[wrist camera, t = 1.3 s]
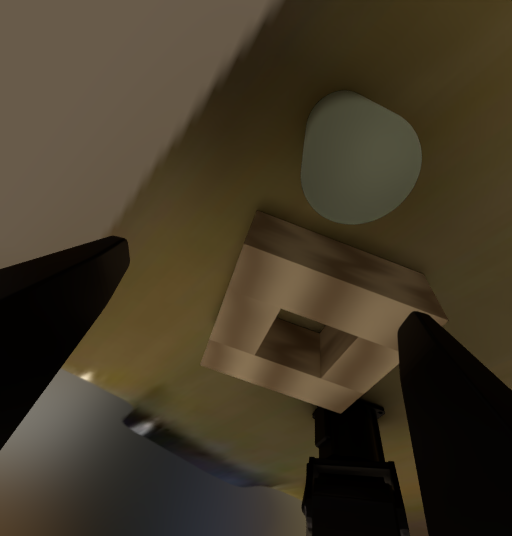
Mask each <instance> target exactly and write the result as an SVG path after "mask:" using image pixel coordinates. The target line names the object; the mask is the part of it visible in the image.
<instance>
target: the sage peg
mask: <svg viewBox="0 0 512 536" xmlns="http://www.w3.org/2000/svg"><path fill="white" fill-rule="evenodd" d="M421 163H422V152H421V145H420V141H419V139H418V136H417V134H416V132H415V131H414V129H413V128H412V126H411V125H410V124H409V123H408V122H407V121H406V120H405V119H404V118H402V117H401V116H400V115H398V114H396V113H394V112H392V111H390V110H388V109H386V108H384V107H383V106H381V105H379V104H377V103H375V102H373V101H371V100H369V99H367V98H365V97H364V96H362V95H360V94H358V93H356V92H353V91H348V90H341V91H336V92H333V93H331V94H328V95H327V96H325V97H324V98H322V99H321V100H320V101H319V102H318V103H317V104H316V105H315V106H314V108H313V109H312V111H311V113H310V115H309V117H308V120H307V124H306V131H305V140H304V149H303V157H302V166H301V184H302V189H303V192H304V195H305V197H306V199H307V201H308V202H309V204H310V205H311V207H312V208H313V209H314V210H315V211H316V212H317V213H319V214H320V215H321V216H323V217H324V218H326V219H328V220H331V221H333V222H337V223H341V224H362V223H367V222H371V221H374V220H376V219H379V218H381V217H383V216H385V215H387V214H388V213H390V212H391V211H393V210H394V209H395V208H396V207H398V206H399V205H400V204H401V203H402V202H403V201H404V200H405V199H406V197H407V196H408V195H409V194H410V192H411V190H412V189H413V187H414V185H415V183H416V181H417V179H418V176H419V173H420V169H421Z"/></svg>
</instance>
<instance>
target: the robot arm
mask: <svg viewBox="0 0 512 536" xmlns="http://www.w3.org/2000/svg"><path fill="white" fill-rule="evenodd" d="M129 263H130V257H129V248H128V242H127V240H126V239H125V238H121V237H117V236H109V237H106V238H103V239H99V240H96V241H93V242H90V243H86V244H83V245H80V246H76V247H73V248H70V249H66V250H63V251H59V252H56V253H53V254H49V255H46V256H43V257H39V258H36V259H33V260H29V261H26V262H23V263H19V264H16V265H13V266H9V267H6V268H3V269H0V450H1V449H2V447H3V446H4V445H5V443H6V442H7V440H8V439H9V438H10V436H11V435H12V434H13V432H14V431H15V430H16V428H17V427H18V425H19V424H20V423H21V421H22V420H23V419H24V417H25V416H26V415H27V413H28V412H29V410H30V409H31V408H32V406H33V405H34V404H35V402H36V401H37V400H38V398H39V397H40V395H41V394H42V393H43V391H44V390H45V389H46V387H47V386H48V385H49V383H50V382H51V380H52V379H53V378H54V376H55V375H56V374H57V372H58V371H59V369H60V368H61V367H62V365H63V364H64V363H65V361H66V360H67V359H68V357H69V356H70V355H71V353H72V352H73V350H74V349H75V348H76V346H77V345H78V344H79V342H80V341H81V340H82V338H83V337H84V335H85V334H86V333H87V331H88V330H89V329H90V327H91V326H92V325H93V323H94V322H95V320H96V319H97V318H98V316H99V315H100V314H101V312H102V311H103V309H104V308H105V307H106V305H107V303H108V302H109V300H110V298H111V297H112V295H113V293H114V291H115V290H116V288H117V286H118V284H119V283H120V281H121V279H122V277H123V276H124V274H125V272H126V270H127V269H128V267H129ZM397 339H398V354H399V369H400V380H401V387H402V392H403V398H404V403H405V409H406V414H407V420H408V425H409V431H410V436H411V442H412V447H413V453H414V458H415V464H416V469H417V475H418V480H419V486H420V491H421V497H422V502H423V507H424V513H425V518H426V524H427V529H428V535H429V536H512V390H511V389H509V388H508V387H507V386H506V385H505V384H504V383H503V382H502V381H501V380H500V379H499V378H497V377H496V376H495V375H494V374H493V373H492V372H491V371H490V370H489V369H488V368H487V367H485V366H484V365H483V364H482V363H481V362H480V361H479V360H478V359H477V358H476V357H475V356H473V355H472V354H471V353H470V352H469V351H468V350H467V349H466V348H465V347H464V346H462V345H461V344H460V343H459V342H458V341H457V340H456V339H455V338H454V337H453V336H452V335H450V334H449V333H448V332H447V331H446V330H445V329H444V328H443V327H442V326H441V325H440V324H438V323H437V322H436V321H435V320H434V319H433V318H432V317H431V316H430V315H428V314H426V313H422V312H418V311H413V312H411V313H410V314H409V315H408V317H407V318H406V319H405V321H404V322H403V323H402V324H401V326H400V327H399V329H398V333H397ZM384 414H385V411H384V408H382V407H379V406H376V405H373V404H371V403H368V402H365V401H362V400H359V399H357V400H356V401H355V402H354V403H353V404H352V405H350V406H349V407H348V408H347V409H346V410H345V411H343V412H342V413H341V414H340V413H337V412H334V411H331V410H329V409H326V408H323V407H319V408H318V409H317V410H316V411H315V412H314V413H313V418H314V419H315V445H316V447H318V448H319V458H315V457H309V463H307V473H306V485H305V491H304V496H303V501H302V512H303V513H304V515H305V516H306V521H307V526H308V531H309V533H310V534H312V536H410V533H409V528H408V523H407V518H406V513H405V508H404V503H403V499H402V495H401V490H400V486H399V482H398V477H397V473H396V468H395V464H394V461H388V462H385V458H384V453H383V447H382V442H381V437H380V431H379V426H378V420H377V419H378V418H379V417H381V416H382V415H384Z"/></svg>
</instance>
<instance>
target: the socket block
mask: <svg viewBox="0 0 512 536" xmlns="http://www.w3.org/2000/svg"><path fill="white" fill-rule="evenodd" d="M280 309H284V310H286V311H289V312H292V313H295V314H297V315H300V316H303V317H306V318H308V319H311V320H314V321H317V322H319V323H322V324H325V325H326V326H325V327H324V328H323V330H322V331H321V332H320V334H319V333H317V332H314V331H311V330H308V329H306V328H303V327H300V326H297V325H295V324H292V323H289V322H286V321H284V320H281V319H278V318H276V316H277V315H278V313H279V311H280ZM413 311H418V312H422V313H426V314H428V315H430V316H431V317H432V318H433V319H434V320H435V321H436V322H437V323H438V324H440V325H441V326H443V325H444V324H445V323H447V322H448V321H449V320H448V318H447V316H446V315H445V313H444V311H443V309H442V307H441V305H440V304H439V302H438V300H437V298H436V296H435V294H434V292H433V291H432V289H431V287H430V285H429V283H428V281H427V280H426V278H425V276H424V274H421V273H419V272H416V271H414V270H411V269H408V268H406V267H403V266H401V265H398V264H395V263H393V262H390V261H388V260H385V259H382V258H380V257H377V256H375V255H372V254H369V253H367V252H364V251H362V250H359V249H356V248H354V247H351V246H349V245H346V244H343V243H341V242H338V241H336V240H333V239H330V238H328V237H325V236H323V235H320V234H317V233H315V232H312V231H310V230H307V229H304V228H302V227H299V226H297V225H294V224H291V223H289V222H286V221H284V220H281V219H278V218H276V217H273V216H271V215H268V214H265V213H263V212H260V211H258V210H257V212H256V214H255V217H254V219H253V222H252V224H251V227H250V230H249V232H248V235H247V237H246V240H245V242H244V245H243V248H242V250H241V253H240V256H239V259H238V261H237V264H236V267H235V270H234V273H233V275H232V278H231V281H230V284H229V286H228V289H227V292H226V295H225V297H224V300H223V303H222V306H221V309H220V311H219V314H218V317H217V320H216V322H215V325H214V328H213V331H212V334H211V336H210V339H209V342H208V345H207V347H206V350H205V353H204V356H203V358H202V361H201V364H200V365H201V366H204V367H207V368H210V369H213V370H216V371H218V372H221V373H224V374H227V375H230V376H233V377H236V378H239V379H242V380H245V381H247V382H250V383H253V384H256V385H259V386H262V387H265V388H268V389H271V390H274V391H276V392H279V393H282V394H285V395H288V396H291V397H294V398H297V399H300V400H302V401H305V402H308V403H311V404H314V405H317V406H320V407H323V408H326V409H329V410H331V411H334V412H337V413H340V414H341V413H342V412H343V411H345V410H346V409H347V408H348V407H349V406H350V405H352V404H353V403H354V402H355V401H356V400H357V399H358V398H360V397H361V396H362V395H363V394H364V393H365V392H367V391H368V390H369V389H370V388H371V387H372V386H374V385H375V384H376V383H377V382H378V381H379V380H381V379H382V378H383V377H384V376H385V375H386V374H387V373H389V372H390V371H391V370H392V369H393V368H394V367H396V366H397V365H398V364H399V354H398V339H397V333H398V329H399V327H400V326H401V324H402V323H403V322H404V321H405V319H406V318H407V317H408V315H409V314H410V313H411V312H413Z"/></svg>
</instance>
